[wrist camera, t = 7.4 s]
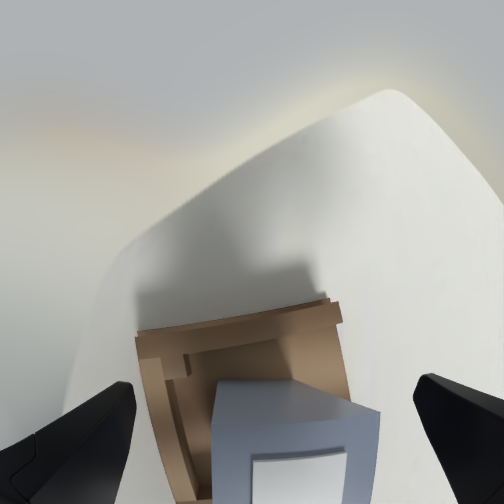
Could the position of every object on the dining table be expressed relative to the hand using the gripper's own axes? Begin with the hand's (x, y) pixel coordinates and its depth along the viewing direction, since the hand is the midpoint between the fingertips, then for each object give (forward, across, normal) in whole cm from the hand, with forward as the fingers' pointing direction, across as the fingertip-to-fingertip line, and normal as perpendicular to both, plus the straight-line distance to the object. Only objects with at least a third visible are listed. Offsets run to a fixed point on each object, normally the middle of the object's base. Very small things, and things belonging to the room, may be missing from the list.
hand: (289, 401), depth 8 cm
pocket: (+7, 0, +7) cm, 10 cm away
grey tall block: (+7, 0, +7) cm, 10 cm away
